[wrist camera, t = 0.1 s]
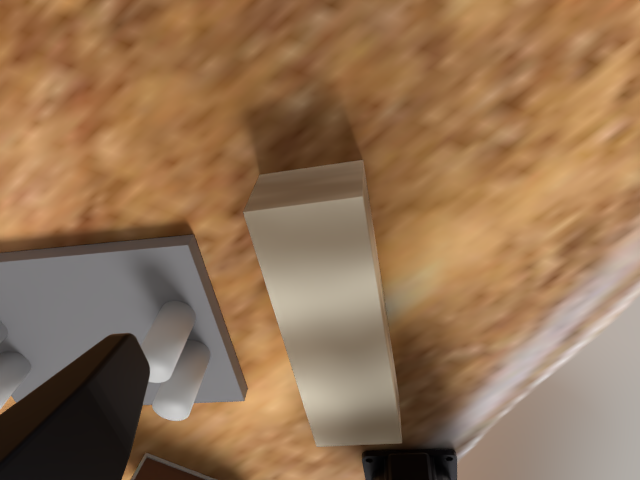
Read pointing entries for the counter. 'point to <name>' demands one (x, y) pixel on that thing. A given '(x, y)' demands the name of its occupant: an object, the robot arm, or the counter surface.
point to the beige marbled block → (328, 299)
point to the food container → (164, 470)
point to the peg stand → (118, 318)
